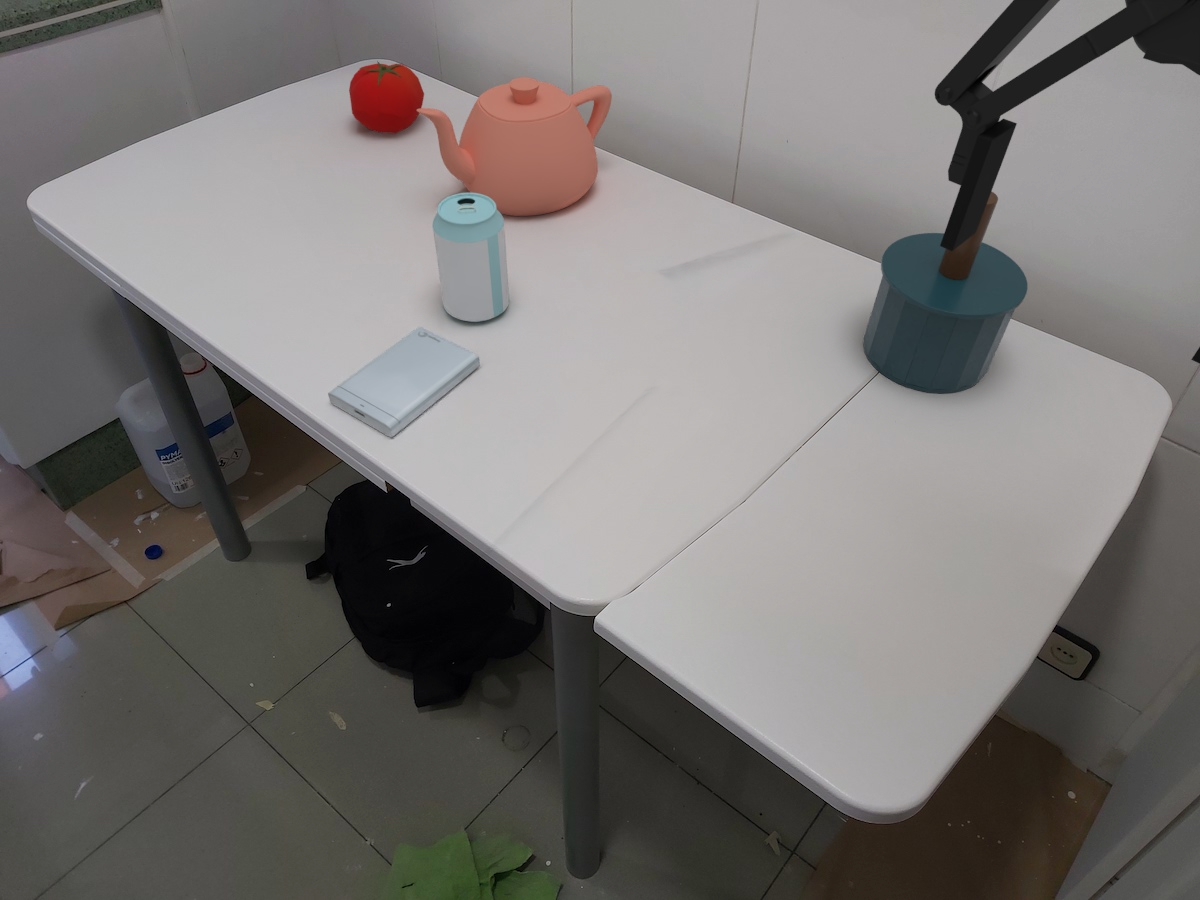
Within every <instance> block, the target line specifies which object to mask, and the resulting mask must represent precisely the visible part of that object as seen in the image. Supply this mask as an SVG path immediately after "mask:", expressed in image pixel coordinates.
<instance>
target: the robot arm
mask: <svg viewBox="0 0 1200 900" xmlns="http://www.w3.org/2000/svg"><path fill="white" fill-rule="evenodd" d="M1060 1H1061V0H1012V1H1011V2H1010V3H1009V5H1008V6H1007V7H1006V8H1005V9H1004V10H1003V11H1002V12H1001V13H1000V15H999V16H998V17H997V18H996V19H995V20H994V21H993V23H992V24H990V26H989V27H988V28H987V29H986V31H984V33H982V35H981V36H980V37H979V38H978V39H977V40H976V42H975V43H974V44H973V45H972V46H971V47H970V49H969V50H967V52H966V53H965V54H964V55H963V56H962V57H961V58H960V59H959V61H958V62H957V63H956V64H955V65H954V66H953V68H951V69H950V71H949V72H948V73H947V74H946V75H945V77H943V79H941V81H940V82H939V83H938V84H937V86H935V87H936V88H935V89H934V99H935V100H936V102H937V103H938V104H939V105H941V106H943V107H944V106H945V107H948V106H949V107H951V108H952V109H953V110H954V111H955V112H956V113H958V114H957V115H959V116H960V119H961V122H962V125H961V130H960V133H959V136H958V138H957V142H956V145H955V149H954V151H953V154H952V157H951V161H950V162H949V163H950V164H949V166H948V170H947V176H948V177H947V179H948V181H949V182H951V183H953V184H956V185H958V186H960V187H959V190H958V192H957V195H956V198H955V202H954V204H953V207H952V210H951V213H950V215H949V218H948V222H947V224H946V227H945V230H944V236H943V239H942V241H941V244H940V246H941V247H943V248H946V249H948V250H950V251H953V250H955V249H956V248H957V247H958V246H960V245H961V244H962V243H963V242H965V241H966V240H967V239H969V238H970V237H971V236H972V235H974V234H975V233H976V231H977V228H978V226H979V223H980V220H981V218H982V215H983V212H984V210H985V207H986V204H987V202H988V199H989V196H990V194H991V191H992V192H993V188H994V186H995V183H996V181H997V177H998V175H999V172H1000V169H1001V167H1002V165H1003V161H1004V159H1005V156H1006V154H1007V150H1008V149H1009V146H1010V143H1011V141H1012V138H1013V135H1014V132H1015V130H1016V127H1017V124H1018V123H1017V122H1014V121H1012V120H1008V119H1006V118H1002V119H1001V116H1004V114H1006V113H1008V112H1010V111H1011V110H1012V109H1014V108H1016V107H1018V106H1020V105H1021V104H1023V103H1024V102H1026V101H1028V100H1029V99H1031V98H1033V97H1034V96H1036V95H1037V94H1039V93H1041V92H1043V91H1044V90H1046V89H1048V88H1050V87H1051V86H1053V85H1054V84H1056V83H1058V82H1059V81H1061V80H1062V79H1064V78H1066V77H1068V76H1069V75H1071V74H1073V73H1074V72H1076V71H1077V70H1080V69H1081V68H1083V67H1084V66H1087V65H1088V64H1089V63H1091V62H1092V61H1094V60H1096V59H1099V57H1102V56H1103V55H1105V54H1106V53H1109V52H1110V51H1111V50H1114V49H1115V48H1117V47H1118V46H1120V45H1121V44H1123V43H1125V42H1127V41H1128V40H1130V39H1131V38H1132V39H1133V42H1134V43H1135V45H1136V47H1137V48H1138V49H1139V50H1140V51H1141V52H1142V53H1144V55H1143V57H1142V59H1144V60H1146V61H1147V60H1148V61H1150V62H1153V63H1156V64H1162V65H1181V66H1184V67H1186V68H1187V69H1189V70H1190V71H1192V72H1193V73H1195V74H1196V75H1197V76H1200V0H1124V3H1125V7H1124V8H1123V9H1121V10H1119V11H1118V12H1116V13H1115V14H1113V15H1112V16H1109V17H1108V18H1107V19H1105V20H1104V21H1102V22H1101V23H1099V24H1097V25H1095V26H1094V27H1093V28H1090V30H1088V31H1086V32H1085V33H1083V34H1082V35H1080V36H1078V37H1077V38H1075V39H1074V40H1071V42H1069V43H1067V44H1066V45H1063V46H1062V47H1061V48H1059V49H1058V50H1056V51H1055V52H1053V53H1051V54H1050V55H1049V56H1047V57H1045V58H1044V59H1042V60H1040V61H1039V62H1037V63H1036V64H1034V65H1032V66H1031V67H1029V68H1028V69H1026V70H1024V71H1023V72H1022V73H1020V74H1019V75H1017V76H1015V77H1014V78H1012V79H1010V80H1008V81H1007V82H1006V83H1004V84H1003V85H1001V86H999V87H997V88H996V89H995V90H992V89H990V87H988V86H987V85H986V84H985V83H984V81H985V80H986V79H987V78H988V77H989V76H990V75H991V74H992V73H993V72H994V71H995V70H996V68H997V67H998V66H999V65H1000V64H1001V63H1002V62H1004V60H1005V59H1006V58H1007V57H1008V56H1009V55H1010V54H1011V53H1012V52H1013V51H1014V50H1015V48H1016V47H1017V46H1018V45H1019V44H1020V43H1021V42H1022V41H1023V40H1024V39H1025V38H1026V37H1027V36H1028V35H1029V34H1030V32H1032V31H1033V30H1034V28H1036V26H1037V25H1038V24H1039V23H1040V22H1041V21H1042V20H1043V19H1044V18H1045V17H1046V16H1047V14H1049V13H1050V12H1051V11H1052V9H1054V7H1055V6H1056V5H1057V4H1058V3H1059V2H1060ZM1190 360H1191V361H1193V362H1194V363H1195V362H1196V363H1197V364H1200V346H1199V347H1198V348H1197V350H1196V351H1195V353H1194V354H1193V356H1192V357H1191V359H1190Z"/></svg>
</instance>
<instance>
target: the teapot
mask: <svg viewBox="0 0 1200 900" xmlns="http://www.w3.org/2000/svg"><path fill="white" fill-rule="evenodd" d="M612 100H613V99H612V91H611V90H610V88H609V87H608V86H605V85H597V84H596V85H592V86H589V87H586V88H583V89H581V90H579V91H577V92H575V93H573V94H570V95H568V94H567V92H565V91H564V90H563V89H561V88H559V86H556V85H555V84H553V83H549V82H547V81H546V82H545V81H539V80H538V79H535V78H533V77H528V76H520V77H516V78H513V79H512V80H510V81H509V82H508V83H507V82H506V83H504V84H500V85H496V86H494V87H491V88H489V89H487V90H485V91H484V92H483V93H481V94H480V95H479V96H478V98H477V100H476V101H475V103H474V104H473V106H472V108H471V110H470V112H469V115H468V117H467V119H466V121H465V123H464V126H463V128H462V131H461V133H460V134H461V135H460V137H459V138H460V139H459V141H457V138H456V133H455V130H454V126H453V123H452V120H451V119H450V117H449V116H448V115H447V113H445V112H444V111H442V110H440V109H436V108H428V107H421V108H420V109H417V112H419V114H420V115H423V116H424V117H426V118H428V119H429V120H430V122H431V123H432V124H433V125H434V128H435V130H436V134H437V140H438V147H439V154H440V157H441V159H442V163H443V164H444V166H445V167H446V169H447V171H448V172H449V173H450V174H451V175H452V176H453V177H454V178H456V179H457V180H458V181H461V182H462V184H463V186H465V188H466V189H467V191H469V193H479V194H483V195H485V196H488V197H489V198H491V199H492V200H493V201H494V202H495V204H496V209H497V210H498V211H499V212H500V213H501V215H505V216H506V215H507V216H515V217H526V216H527V217H529V216H540V215H545V214H550V213H554V212H557V211H560V210H563V209H565V208H567V207H570V206H572V205H573V204H575V203H576V202H578V201H579V200H580V199H582V198H583V196H585V195H586V193H588V191H589V190H590V189H591V188H592V186H593V185H594V183H595V181H596V179H597V177H598V171H599V170H598V167H599V166H598V159H597V158H598V157H597V151H596V147H595V142H594V141H595V139H596V137H597V135H598V134H599V132H600V131H601V128H602V126H603V125H604V123H605V120H607V119H606V118H607V116H608V114H609V111H610V109H611V106H612ZM592 101H593V105H592V110H591V114H590V117H589V119H588V122H587V123H586V122H585V119H584V118H583V116H582V114H581V113H580V110H579V109H578V107H579V106H581V105H584V104H586V103H588V102H592ZM458 142H459V143H458Z"/></svg>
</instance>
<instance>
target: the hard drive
mask: <svg viewBox="0 0 1200 900" xmlns="http://www.w3.org/2000/svg"><path fill="white" fill-rule="evenodd" d="M480 361H481V360H480V357H479V356H478V354H476V353H474V352H473V351H471V350H469V349H466V348H464V347H463V346H461V345H458V344H457V343H455V342H452V341H451V340H449V339H446V338H444V337H442V336H441V335H439V334H436V333H434V332H433V331H431V330H428V329H426V328H424V327H422V326H418V327H416V328H415V329H413V330H412V331H410V332H409V333H408V334H407V335H405V336H403V337H402V338H401V339H399V340H398V341H397V342H395V343H394V344H393V345H391V346H390V347H389V348H387V349H386V350H384V351H383V352H381V354H379V355H377V356H376V357H375V358H373V359H372V360H370V361H369V362H368V363H366V364H364V365H363V366H362V367H361V368H360V369H358V370H357V371H356V372H354V373H353V374H352V375H350V376H349V377H347V378H346V379H345V380H343V381H342V382H340V383H339V384H338V385H336V386H335V387H334V388H332V389H330V390H329V392H327V395H328V399H329V402H330V403H331V404H332V405H334V406H335V407H337V408H339V409H340V410H342V411H344V412H346V413H347V414H349V415H351V416H352V417H354V418H356V419H358V420H359V421H361V422H363V423H364V424H365V425H368V426H370V427H371V428H373V429H375V430H377V431H379V432H380V433H382V434H383V435H385V436H387V437H388V438H393V437H394V436H395V435H397V434H398V433H400V431H402V429H404V428H405V427H407V426H408V425H410V423H411V422H413V421H414V420H415V419H416V418H418V417H419V416H420V415H422V414H423V413H424V412H425V411H426V410H427V409H429V408H430V407H431V406H432V405H433V404H435V403H436V402H437V401H439V400H440V399H441V398H442V397H444V396H445V395H446V394H447V393H448V392H450V391H452V389H454V387H456V386H457V385H458V384H460V383H461V382H462V381H463V380H464V379H466V377H468V376H469V375H470V374H472V373H473V372H474V371H475V370H476V369H478V368H479V367H480V366H481V362H480Z"/></svg>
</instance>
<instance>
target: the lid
mask: <svg viewBox="0 0 1200 900" xmlns="http://www.w3.org/2000/svg"><path fill="white" fill-rule="evenodd" d="M998 201H999V197H998V195H997V194H996V193H995V192H994V191H993V190H992V191H991V194H990V196H989V199H988V202H987V204H986V207H985V210H984V212H983V215H982V218H981V220H980V223H979V226H978V228H977V231H976V233H975V234H974V235H972V236H971V237H970V238H969V239H967V240H966V241H965V242H963V243H962V244H961V245H960V246H958V247H957V248H956V249H955V250H953V251H950V250H948V249H946V248H943V247H941V246H940V244H941V241H942V239H943V236H944V233H945V232H944V233H941V232H924V233H917V234H911V235H907V236H905V237H902V238H900V239H897V240H895V241H894V242H892V243H891V244H890V245H889V246H888V247H887V248H886V249H885V251H884V252H883V254H882V256H881V261H880V270H881V274H882V276H883V277H884V279H885V281H886V282H887V283H888V285H889V286H890V287H891V288H892V289H893V290H894V291H895V292H896V293H897V294H898V295H900V296H901V297H902V298H904V299H905V300H907V301H908V302H910V303H912V304H914V305H916V306H918V307H920V308H922V309H925V310H928V311H930V312H933V313H936V314H940V315H944V316H949V317H954V318H961V319H987V318H993V317H998V316H1001V315H1004V314H1007V313H1009V312H1011V311H1013V310H1014V309H1015V310H1016V309H1017V308H1019V306H1020V305H1021V304H1022V303H1023V301H1024V300H1025V298H1026V295H1027V294H1028V293H1027V292H1028V280H1027V277H1026V275H1025V273H1024V271H1023V269H1022V267H1020V266H1019V264H1018V263H1017V262H1016V261H1015V260H1013V258H1011V257H1010V256H1009V255H1007V254H1006V253H1004V252H1003V251H1001V250H999V249H998V248H996V247H994V246H992V245H990V244H988V243H985V242H983V241H984V238H985V235H986V232H987V229H988V227H989V225H990V222H991V220H992V217H993V214H994V211H995V209H996V206H997V203H998ZM1015 310H1014V311H1015Z"/></svg>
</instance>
